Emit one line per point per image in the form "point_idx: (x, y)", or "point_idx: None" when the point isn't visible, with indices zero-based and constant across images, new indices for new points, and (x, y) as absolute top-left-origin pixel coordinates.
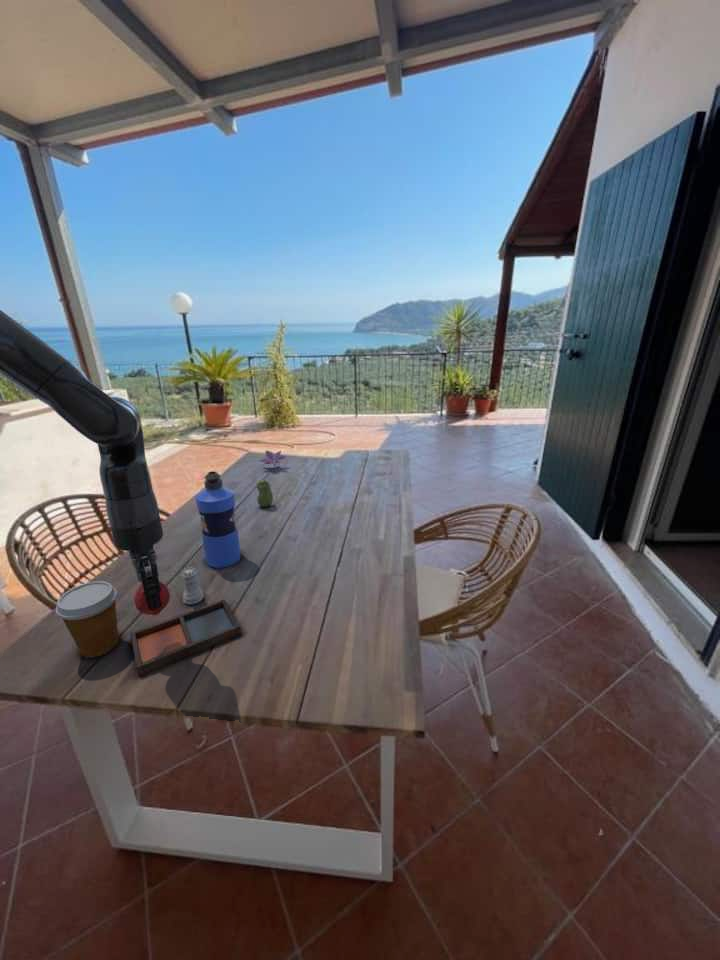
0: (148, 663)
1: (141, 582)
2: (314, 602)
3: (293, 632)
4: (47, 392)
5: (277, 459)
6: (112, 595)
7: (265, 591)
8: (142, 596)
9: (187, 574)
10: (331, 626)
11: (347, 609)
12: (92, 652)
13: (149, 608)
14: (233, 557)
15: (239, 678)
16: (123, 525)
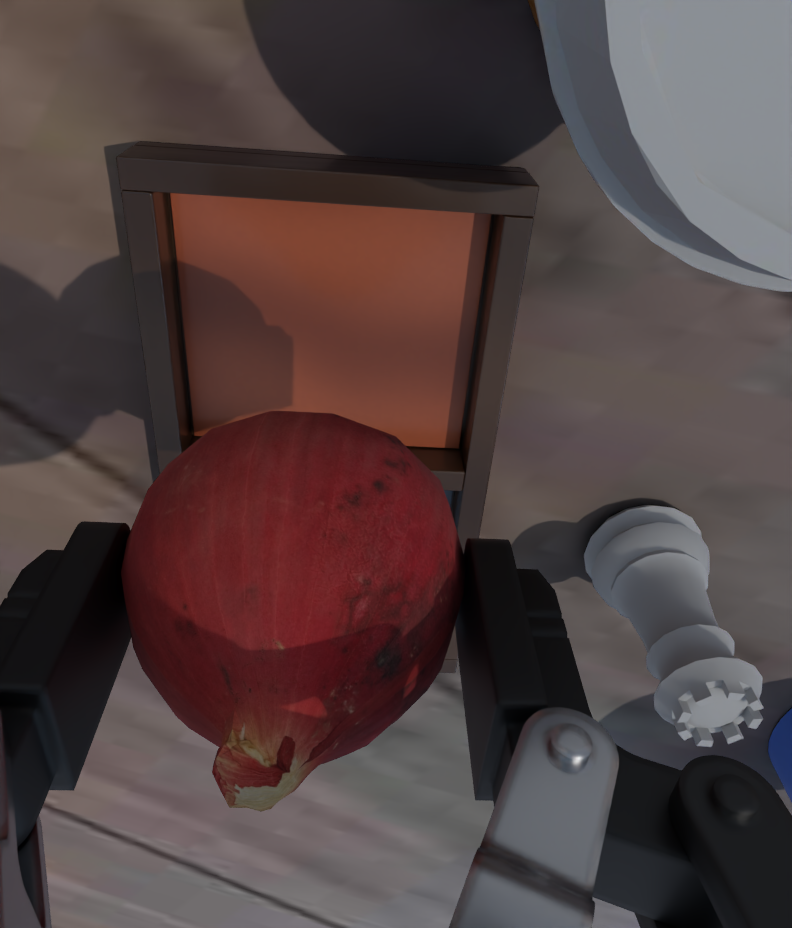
0: (128, 230)
1: (485, 622)
2: (233, 847)
3: (96, 753)
4: None
5: None
6: (699, 247)
7: (434, 768)
8: (170, 583)
9: (686, 696)
10: (62, 836)
11: (127, 890)
12: None
13: (78, 537)
14: (787, 784)
15: None
16: None
